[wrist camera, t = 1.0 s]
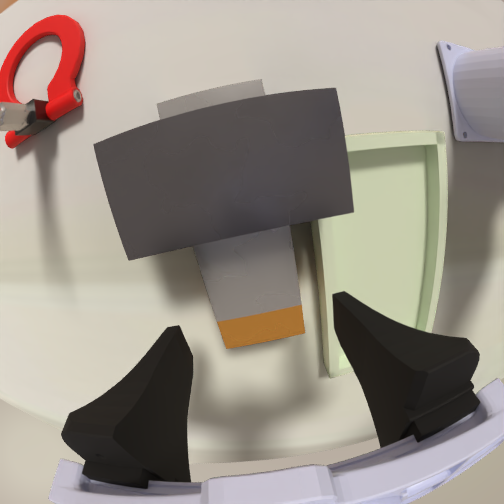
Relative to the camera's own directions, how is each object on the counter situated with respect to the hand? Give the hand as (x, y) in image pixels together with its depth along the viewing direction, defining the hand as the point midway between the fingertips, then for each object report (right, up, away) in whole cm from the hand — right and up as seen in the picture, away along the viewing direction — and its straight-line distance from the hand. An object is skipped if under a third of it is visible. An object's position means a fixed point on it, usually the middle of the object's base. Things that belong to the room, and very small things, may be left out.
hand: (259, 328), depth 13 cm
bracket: (-2, +9, +3) cm, 9 cm away
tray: (+9, +3, +6) cm, 11 cm away
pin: (-1, +6, +4) cm, 7 cm away
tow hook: (-15, +16, -1) cm, 22 cm away
